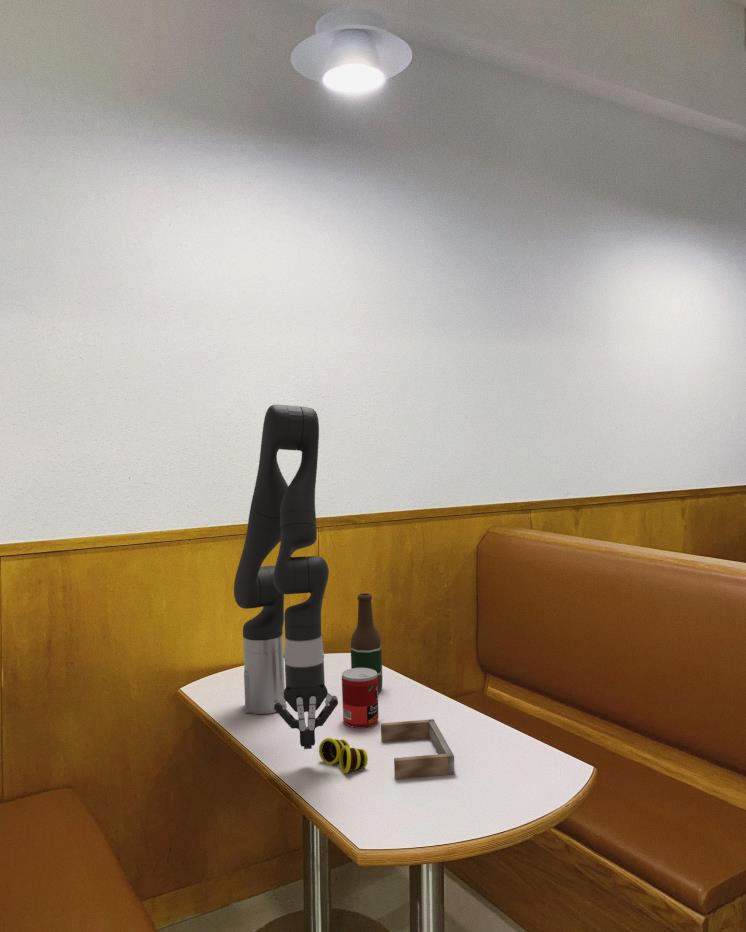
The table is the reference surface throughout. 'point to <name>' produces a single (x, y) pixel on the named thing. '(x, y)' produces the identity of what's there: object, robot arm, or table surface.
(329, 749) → the opera glasses
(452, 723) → the table surface
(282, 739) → the table surface
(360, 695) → the canned food
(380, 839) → the table surface
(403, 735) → the walnut bay
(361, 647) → the beer bottle
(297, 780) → the table surface
